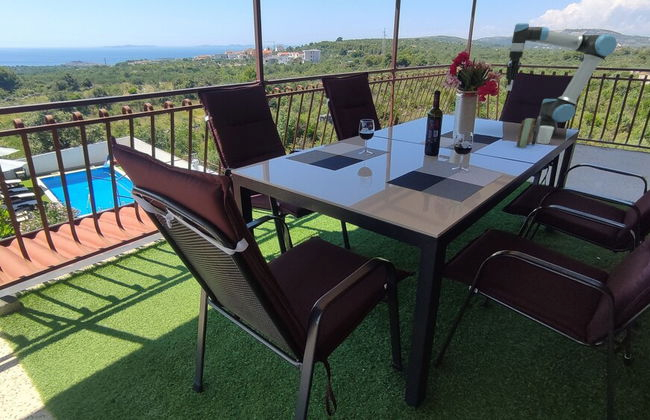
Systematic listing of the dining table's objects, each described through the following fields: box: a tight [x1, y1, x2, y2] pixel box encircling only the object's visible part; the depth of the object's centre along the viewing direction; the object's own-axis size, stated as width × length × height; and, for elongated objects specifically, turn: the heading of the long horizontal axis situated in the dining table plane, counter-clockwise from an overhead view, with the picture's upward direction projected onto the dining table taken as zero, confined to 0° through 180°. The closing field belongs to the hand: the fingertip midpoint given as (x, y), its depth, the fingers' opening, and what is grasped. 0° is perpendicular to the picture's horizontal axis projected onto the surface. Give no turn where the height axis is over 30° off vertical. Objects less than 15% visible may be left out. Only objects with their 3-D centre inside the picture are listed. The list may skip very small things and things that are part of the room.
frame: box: [518, 115, 542, 149], centre depth 223 cm, size 16×2×17 cm, turn 124°
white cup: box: [536, 126, 554, 145], centre depth 232 cm, size 8×8×10 cm
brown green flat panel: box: [516, 118, 537, 147], centre depth 225 cm, size 12×1×15 cm, turn 122°
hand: (508, 90), depth 240 cm, fingers closed
